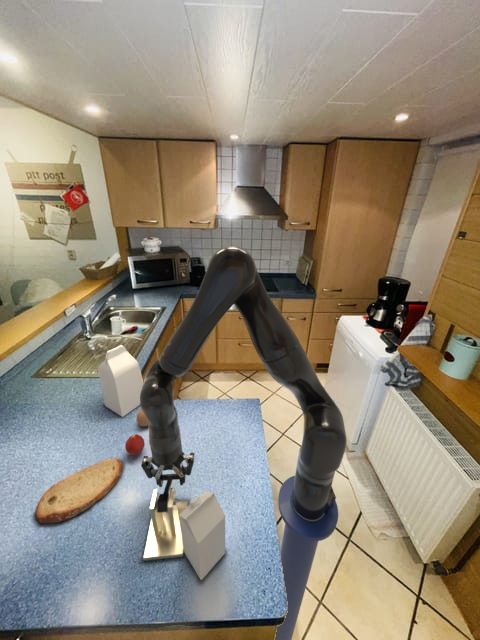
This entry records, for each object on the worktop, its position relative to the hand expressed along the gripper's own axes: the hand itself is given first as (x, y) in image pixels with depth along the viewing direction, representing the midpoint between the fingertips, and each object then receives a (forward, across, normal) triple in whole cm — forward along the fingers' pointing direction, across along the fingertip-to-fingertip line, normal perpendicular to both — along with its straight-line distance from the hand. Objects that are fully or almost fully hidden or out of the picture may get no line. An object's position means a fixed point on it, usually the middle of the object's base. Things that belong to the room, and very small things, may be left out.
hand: (171, 482), depth 70 cm
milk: (+4, +25, -38) cm, 46 cm away
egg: (+4, +14, -26) cm, 30 cm away
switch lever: (-4, 0, +5) cm, 6 cm away
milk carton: (+4, -10, +15) cm, 18 cm away
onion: (+4, +14, -14) cm, 20 cm away
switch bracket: (+4, 0, +9) cm, 10 cm away
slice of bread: (+4, +26, -3) cm, 27 cm away
